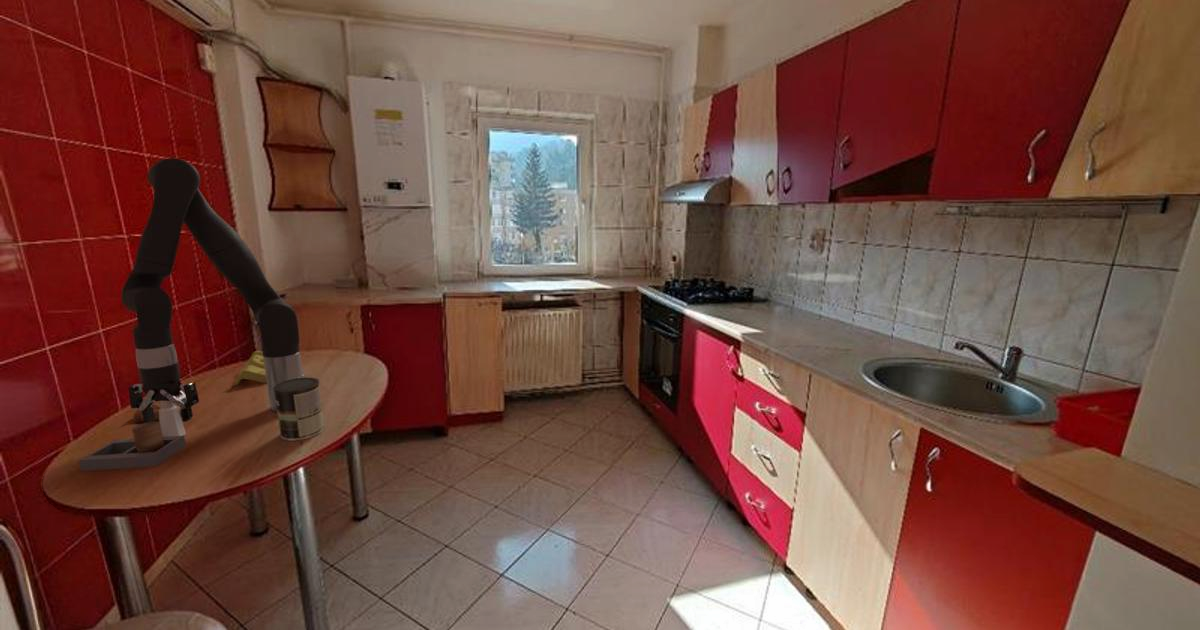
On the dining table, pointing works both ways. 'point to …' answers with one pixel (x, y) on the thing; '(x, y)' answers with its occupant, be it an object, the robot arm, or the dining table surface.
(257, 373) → the plastic component
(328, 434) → the dining table surface
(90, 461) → the grey rectangular open block
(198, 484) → the dining table surface
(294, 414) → the coffee can
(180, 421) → the salt shaker
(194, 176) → the robot arm
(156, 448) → the fitted dowel
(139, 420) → the bread roll
